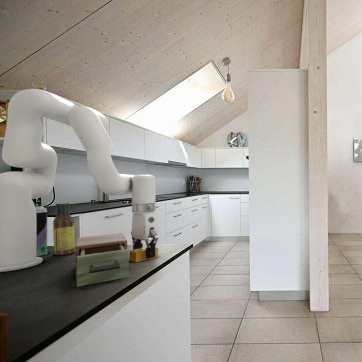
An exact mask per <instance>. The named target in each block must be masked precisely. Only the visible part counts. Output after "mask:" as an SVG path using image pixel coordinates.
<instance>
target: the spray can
mask: <svg viewBox="0 0 362 362" xmlns="http://www.w3.org/2000/svg"><path fill="white" fill-rule="evenodd" d="M33 203H34V205H35V208H36V257H40V256H45V255H47V254H48V208H46V207H44V206H43V205H42V203H41V202H33Z"/></svg>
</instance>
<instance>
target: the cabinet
mask: <svg viewBox="0 0 362 362" xmlns="http://www.w3.org/2000/svg"><path fill="white" fill-rule="evenodd" d="M121 243H122V245H123V247H124V249H128V240H127V238H126V236H125V235H124V233H123V232H119V233H110V234H100V235H92V236H90V235H89V236H80V237H77V238H76V242H75V280H76V281H77V256H81V249H82V248H90V247H98V246H106V245H114V244H121Z"/></svg>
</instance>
